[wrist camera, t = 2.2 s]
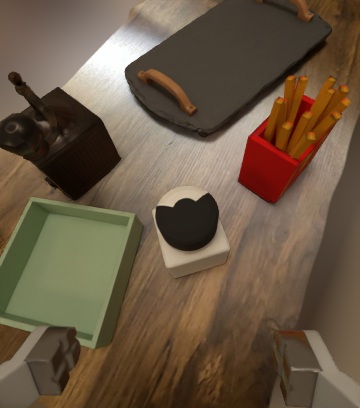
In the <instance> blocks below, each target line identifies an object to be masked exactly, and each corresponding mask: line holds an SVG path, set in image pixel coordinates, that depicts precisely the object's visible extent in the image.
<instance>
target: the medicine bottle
mask: <svg viewBox="0 0 360 408" xmlns="http://www.w3.org/2000/svg"><path fill="white" fill-rule="evenodd" d="M152 214H153V218H154V222H155V226H156V230H157V234H158V238H159V242H160V246H161V250H162V254H163V258H164V262H165V266H166V268H167V269H168V271H169V272H170V273H171V275H172V276H173V277H174V278H178V277H182V276H185V275H188V274H192V273H195V272H198V271H202V270H205V269H208V268H211V267H215V266H218V265H221V264H224V263H226V260H227V257H228V254H229V252H230V245H229V242H228V239H227V237H226V234H225V231H224V229H223V226H222V223H221V221H220V218H219V210H218V206H217V203H216V201H215V199H214V198H213V197H212V195H210V194H209V193H208V192H207V191H206V190H204V189H202V188H199V187H196V186H180V187H176V188H174V189H172V190H170V191H169V192H167V193H166V194H165V195H164V196H163V197H162V198H161V199H160V201H159V203H158V205H157V208H156V209H153V211H152Z"/></svg>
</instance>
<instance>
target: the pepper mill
mask: <svg viewBox="0 0 360 408" xmlns="http://www.w3.org/2000/svg"><path fill="white" fill-rule="evenodd" d="M8 79H9V80H10V81H11V82H12V84H14V85H15V89H16V91H17V93H18V94H20V95H22V96H24V97H25V99H26V100H27V101H28V102H29V104H30V105H31V106H29V107H28V108H27V109H25V110H24V111H22V112H21V113H16V114H11V115H10V116H8V117H7V118H5V119H4V120H2V121H1V122H0V148H2V149H4V150H6V151H9V152H11V153H14V154H16V155H19V156H23V158H24V159H26V160H29V161H30V162H32V163H33V164H34V165H35V166H36V167H37V168H38V169H39V170H40V171H41V172H42V173H43V174H45V175H46V179H45V180H46V181H47V182H48V183H49V184H50V185H51V186H52V187H57V188H59V189H60V190H61V191H62V192H63V193H64V194H65V195H66V196H68V197H69V198H71V199H73V200H75V199H76V198H78V197H79V196H81V195H82V194H84V193H85V192H87V191H88V190H89V189H90V188H91V187H93V186H94V185H95V184H96V183H97V182H98V181H99V180H101V179H102V178H103V177H104V176H105V175H106V174H107V173H109V172H110V171H111V170H112V168H113V167H114V166H115V165H116V164H117V163H118V162H119V161H120V159H121V158H120V157H119V154H118V152H117V150H116V148H115V146H114V144H113V141H112V139H111V137H110V135H109V133H108V131H107V129H106V127H105V125H104V123H103V122H102V120H101V118H99V117H98V116H97V115H95V114H94V113H92V112H91V111H90V110H89V109H87V108H86V107H85V106H84V105H82V104H81V103H80V102H79V101H77V100H76V99H75V98H73V97H72V96H70V95H68V94H67V93H66V92H64V91H63V90H62V89H61V88H59V87H57V88H55V89H54V90H52V91H51V92H50V93H48V94H46V95H45V96H43V97H42V98H41V99H40V98H39V97H38V96H37V95H35V94H34V92H33V91H32V90H31V89H30V87H29V86H28V85H26V82H23V80H22V78H21V76H20V74H18V73H16V72H11V73H9V75H8Z"/></svg>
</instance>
